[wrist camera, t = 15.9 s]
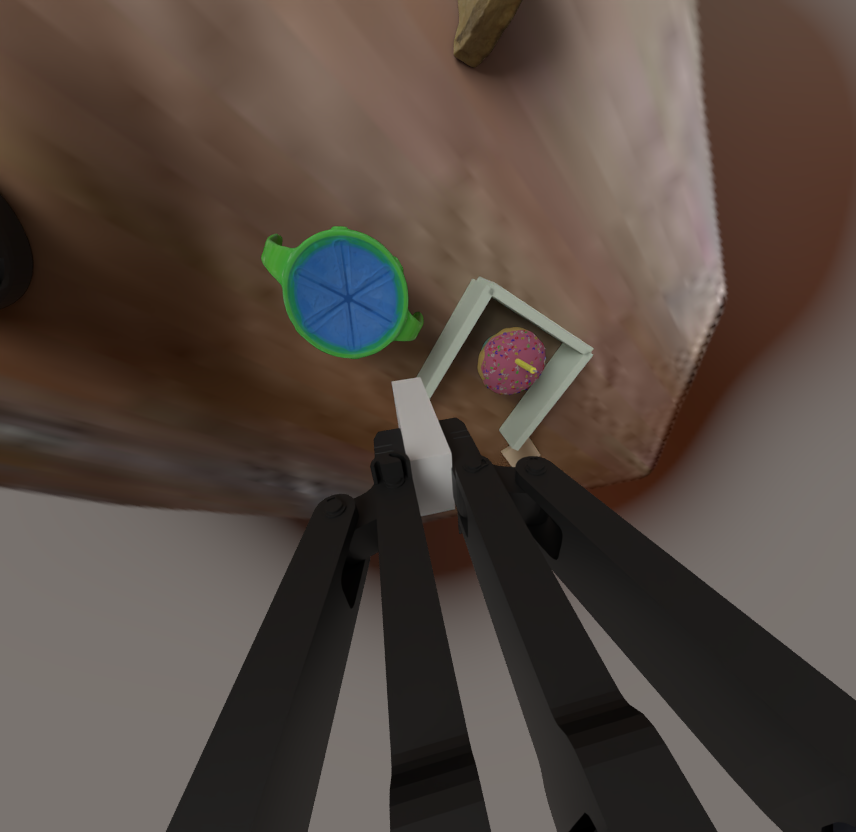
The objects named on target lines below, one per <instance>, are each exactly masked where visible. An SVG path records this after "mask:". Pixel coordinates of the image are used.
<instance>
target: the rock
mask: <svg viewBox="0 0 856 832" xmlns="http://www.w3.org/2000/svg"><path fill="white" fill-rule="evenodd" d="M521 2H522V0H458V9H459V25H458V28H457V32H456V36H455V39H454V56H455V57H456V58H458V59H460V60H461V61H463V62H464V63H466V64H467V65H469V66H471V67H477V66H478V65H479V64H481V63H482V61H483V59H484V58H486V57H488V55H489V54H490V53H491V52H492V50H493V48H494V46H495V45H496V43H497V41H498V40H499V38H500V37H501V35H502V33H503V31H504V30H505V29H506V28H507V27H508V25H509V24H510V22H511V20H512V19H513V17H514V15H515V13H516V11H517V9H518V7H519V5H520V3H521Z"/></svg>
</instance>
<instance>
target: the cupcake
mask: <svg viewBox="0 0 856 832" xmlns="http://www.w3.org/2000/svg"><path fill="white" fill-rule="evenodd" d="M545 349H546V348H545V347H544V344H543V343H542V342H541V341H540V340H539V339H538V338H537V336H536V335H535V334H534V333H532V332H530V331H528V330H526V329H524V328H520V327H512V328H505V329H502V330H501V331H500V332H498V333H497V334H495V335H493V336H491V337H490V338H488V339H487V340H486V341H485V343H484V344H483V347H482V350H481V352H480V354H479V359H478V366H477V369H478V373H479V375H480V377H481V379H482V381H483V383H484V384H485V385H486V386H487V388H489V389H491V390H492V391H494V392H496V393H499V394H509V395H510V394H516V393H520V391H523V390H527V389H528V387H529V386H531V385H532V384H534V383H535V382H536V381H537V379H538V378H539V376H540V375H541V373H542V372H543V370H544V365H545V364H546V363H545V360H546V359H545V358H546V357H545Z"/></svg>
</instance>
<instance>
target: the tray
mask: <svg viewBox="0 0 856 832" xmlns="http://www.w3.org/2000/svg"><path fill="white" fill-rule="evenodd" d="M491 297H492V298H493V299H495V300H496V301H498V302H500V303H501V304H503V305H504V306H506V307H507V308H509V309H510V310H512V311H514V312H515V313H517V314H518V315H520V316H521V317H523V318H525V319H526V320H528V321H529V322H531V323H532V324H534V325H535V326H537V327H539V328H540V329H542V330H543V331H545V332H546V333H548V334H550V335H551V336H553V337H554V338H556V339H557V340H559V341H561V342H562V344H561V346H560V347H559V349H558V350H557V351H556V353H555V354H554V355H553V357H552V358H551V359H550V361H549V362H548V363H547V365H546V366H545V368H544V370H543V372H542V373H541V375H540V376H539V378H538V379H537V381H536V382H535V383H534V384H532V385H531V387H530V388H529V389H528V391H527V392H526V393H525V395H524V396H523V398H522V399H521V400H520V402H519V403H518V404H517V406H516V407H515V408H514V410H513V411H512V413H511V414H510V415H509V417H508V418H507V419H506V421H505V422H504V423H503V425H502V426H501V428H500V429H499V431H500V432H501V433H502V435H503V436H504V438H505V439H506V441H507V442H508V444H509V445H510V446H511V448H512V449H515V450H517V451H518V450H519V449H520V448H521V446H522V445H523V444H524V443H525V441H526V440H527V439H528V437H529V436H530V435H531V434H532V432H533V431H534V430H535V429H536V427H537V426H538V425H539V423H540V422H541V421H542V420H543V418H544V417H545V416H546V415H547V413H548V412H549V411H550V409H551V408H552V407H553V406H554V404H555V403H556V402H557V401H558V399H559V398H560V397H561V395H562V394H563V393H564V392H565V390H566V389H567V388H568V387H569V385H570V384H571V383H572V381H573V380H574V379H575V378H576V376H577V375H578V374H579V373H580V371H581V370H582V369H583V367H584V366H585V365H586V364H587V362H588V361H589V360H590V359H591V357H592V356H593V354H592V353H591V351H592V350H593V349H594V348H592V347H591V346H589V345H588V344H586V343H585V342H583V341H582V340H580V339H579V338H577V337H576V336H574V335H573V334H571V333H570V332H568V331H567V330H565V329H564V328H562V327H561V326H559V325H558V324H556V323H555V322H553V321H552V320H550V319H548V318H547V317H545V316H544V315H542V314H541V313H539V312H538V311H536V310H535V309H533V308H532V307H530V306H529V305H527V304H526V303H524V302H523V301H521V300H520V299H518V298H517V297H515V296H514V295H512V294H511V293H509V292H508V291H506V290H505V289H503V288H502V287H500V286H499V285H497V284H496V283H494V282H492V281H489V280H487V279H484V278H482V277H479V278H478V279H477V280H474V279H472V280H471V282H470V284H469V286H468V287H467V289H466V291H465V293H464V294H463V296H462V298H461V300H460V301H459V303H458V305H457V307H456V308H455V310H454V312H453V314H452V315H451V317H450V319H449V321H448V322H447V324H446V326H445V328H444V329H443V331H442V333H441V335H440V337H439V338H438V340H437V342H436V344H435V345H434V347H433V349H432V351H431V352H430V354H429V356H428V358H427V359H426V361H425V363H424V365H423V366H422V368H421V370H420V372H419V373H418V375H417V377H416V378H418V377H420V378H421V380H422V382H423V385H424V387H425V390H426V392H427V395H428V397H429V399H430V398H431V396H432V394H433V393H434V391H435V389H436V388H437V386H438V385H439V383H440V381H441V380H442V378H443V376H444V375H445V373H446V371H447V370H448V368H449V366H450V365H451V363H452V361H453V360H454V358H455V356H456V355H457V353H458V351H459V350H460V348H461V346H462V345H463V343H464V342H465V340H466V338H467V337H468V335H469V333H470V332H471V330H472V328H473V327H474V325H475V323H476V322H477V320H478V318H479V317H480V315H481V313H482V312H483V310H484V308H485V307H486V305H487V304H488V302H489V300H490V299H491Z"/></svg>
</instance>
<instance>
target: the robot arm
mask: <svg viewBox="0 0 856 832" xmlns="http://www.w3.org/2000/svg"><path fill="white" fill-rule="evenodd" d="M32 269H33V262H32V254H31V249H30V246H29V242H28V240H27V237H26V234H25V232H24V230H23V228H22V226H21V224H20V222H19V220H18V219H17V217H16V215H15V214H14V212H13V211H12V209H11V208H10V206H9V205H8V203H7V202H6V201H5V200H4V198H3V197H2V196H1V194H0V309H1V308H4V307H6V306H8V305H10V304H12V303H14V302H15V301H16V300H18V299H19V298H20V297H21V296H22V295H23V294H24V292H25V291H26V289H27V288H28V286H29V283H30V280H31V277H32ZM392 388H393V394H394V400H395V406H396V412H397V418H398V425H399V428H398V429H392V430H386V431H380V432H378V433H377V435H376V436H375V438H374V451H375V458H374V460H373V461H372V462H371V466H370V468H371V472H372V476H373V480H374V485H373V487H372V488H371V489H370V490H369V491H367V492H366V493H364V494H362V495H361V496H358V497H356V498H354V499H353V498H352V497H351V496H349V495H346V494H336V495H332V496H330V497H327V498H325V499H324V500H323V501H321V502H320V503H319V504H318V506H317V507H316V508H315V510H314V512H313V514H312V517H311V519H310V521H309V523H308V525H307V527H306V530H305V532H304V534H303V536H302V538H301V540H300V543H299V545H298V547H297V549H296V551H295V553H294V556H293V558H292V560H291V562H290V564H289V566H288V568H287V571H286V573H285V575H284V577H283V579H282V582H281V584H280V586H279V588H278V590H277V592H276V594H275V597H274V599H273V601H272V603H271V605H270V607H269V610H268V612H267V614H266V616H265V619H264V621H263V623H262V625H261V627H260V629H259V631H258V633H257V636H256V638H255V640H254V642H253V644H252V646H251V649H250V651H249V653H248V655H247V657H246V659H245V662H244V664H243V666H242V668H241V670H240V672H239V674H238V677H237V679H236V681H235V683H234V685H233V688H232V690H231V692H230V694H229V696H228V698H227V700H226V703H225V705H224V707H223V709H222V711H221V714H220V716H219V718H218V720H217V722H216V724H215V727H214V729H213V731H212V733H211V735H210V737H209V739H208V742H207V744H206V746H205V748H204V750H203V752H202V755H201V757H200V759H199V761H198V763H197V765H196V768H195V770H194V772H193V774H192V776H191V778H190V781H189V783H188V785H187V787H186V789H185V792H184V794H183V796H182V798H181V800H180V802H179V804H178V806H177V809H176V811H175V813H174V815H173V817H172V820H171V822H170V824H169V826H168V828H167V830H166V832H308V827H309V823H310V818H311V814H312V810H313V806H314V801H315V797H316V792H317V788H318V784H319V779H320V775H321V770H322V766H323V761H324V758H325V753H326V749H327V744H328V740H329V736H330V732H331V727H332V723H333V719H334V714H335V710H336V705H337V701H338V697H339V693H340V688H341V683H342V679H343V675H344V671H345V666H346V662H347V658H348V653H349V649H350V645H351V640H352V636H353V632H354V627H355V623H356V618H357V614H358V610H359V605H360V601H361V597H362V592H363V588H364V584H365V580H366V575H367V571H368V566H369V562H370V556H372V555H374V554H376V553H377V552H379V563H380V581H381V597H382V612H383V613H382V614H383V628H384V629H383V630H384V645H385V662H386V679H387V695H388V711H389V712H388V713H389V729H390V744H391V764H392V776H391V784H390V832H491V829H490V825H489V820H488V816H487V812H486V807H485V802H484V798H483V793H482V789H481V784H480V781H479V776H478V772H477V768H476V764H475V760H474V757H473V754H472V750H471V746H470V742H469V737H468V732H467V728H466V723H465V718H464V714H463V709H462V705H461V700H460V696H459V690H458V686H457V681H456V677H455V672H454V667H453V663H452V658H451V654H450V649H449V644H448V640H447V635H446V630H445V626H444V621H443V616H442V612H441V607H440V603H439V598H438V593H437V589H436V584H435V579H434V575H433V570H432V565H431V561H430V556H429V552H428V547H427V542H426V538H425V533H424V528H423V524H422V519H421V516H424V515H429V514H434V513H439V512H444V511H448V510H453V509H455V504H456V507H457V510H458V526H459V534H461V533H463V536H464V539H465V542H466V545H467V547H468V551H469V554H470V557H471V560H472V562H473V565H474V568H475V571H476V575H477V578H478V580H479V583H480V586H481V589H482V592H483V595H484V599H485V601H486V604H487V607H488V610H489V613H490V616H491V619H492V622H493V625H494V628H495V631H496V634H497V637H498V640H499V643H500V646H501V649H502V652H503V655H504V658H505V661H506V664H507V667H508V670H509V673H510V676H511V679H512V682H513V685H514V688H515V691H516V694H517V697H518V700H519V703H520V706H521V709H522V712H523V715H524V718H525V721H526V724H527V727H528V730H529V733H530V736H531V739H532V742H533V745H534V748H535V751H536V754H537V757H538V760H539V764H540V768H541V772H542V777H543V783H544V788H545V792H546V796H547V800H548V804H549V807H550V810H551V813H552V817H553V820H554V823H555V826H556V829H557V832H717V830H716V828H715V827H714V825H713V823H712V822H711V820H710V818H709V817H708V815H707V813H706V811H705V810H704V808H703V806H702V805H701V803H700V801H699V800H698V798H697V796H696V795H695V793H694V791H693V789H692V788H691V786H690V784H689V783H688V781H687V779H686V778H685V776H684V774H683V773H682V771H681V770H680V768H679V766H678V764H677V762H676V761H675V759H674V758H673V756H672V754H671V752H670V751H669V749H668V747H667V746H666V744H665V742H664V741H663V739H662V738H661V736H660V735H659V733H658V732H657V730H656V729H655V727H654V726H653V725H652V723H651V722H650V721H649V720H648V719H647V718H646V717H645V716H644V714H643V713H641V712H640V711H638V710H637V709H635V708H634V707H632V706H631V705H629V704H628V703H627V701H626V700H625V699H624V698H623V696H622V694H621V693H620V691H619V690H618V688H617V686H616V684H615V682H614V681H613V679H612V677H611V675H610V674H609V672H608V670H607V668H606V666H605V665H604V663H603V661H602V659H601V657H600V656H599V654H598V652H597V650H596V649H595V647H594V645H593V643H592V641H591V640H590V638H589V636H588V634H587V633H586V631H585V629H584V627H583V625H582V624H581V622H580V620H579V618H578V617H577V615H576V613H575V611H574V609H573V607H572V606H571V604H570V602H569V600H568V599H567V597H566V595H565V593H564V591H563V590H562V588H561V586H560V584H559V583H558V581H557V579H556V577H555V575H554V574H553V572H552V570H553V571H554V573H555V574H556V575H557V576H558V577H559V578H560V580H561V581H562V582H563V583H564V584H565V585H566V587H567V588H568V589H569V590H570V591H571V592H572V593H573V595H574V596H575V597H576V598H577V599H578V600H579V602H580V603H581V604H582V605H583V606H584V607H585V609H586V610H587V611H588V612H589V613H590V614H591V615H592V617H593V618H594V619H595V620H596V621H597V622H598V624H599V625H600V626H601V627H602V628H603V629H604V631H605V632H606V633H607V634H608V635H609V636H610V637H611V639H612V640H613V641H614V642H615V643H616V644H617V645H618V647H619V648H620V649H621V650H622V651H623V652H624V654H625V655H626V656H627V657H628V658H629V659H630V661H631V662H632V663H633V664H634V665H635V666H636V668H637V669H638V670H639V671H640V672H641V673H642V674H643V676H644V677H645V678H646V679H647V680H648V681H649V683H650V684H651V685H652V686H653V687H654V688H655V689H656V690H657V692H658V693H659V694H660V695H661V696H662V698H663V699H664V700H665V701H666V702H667V703H668V705H669V706H670V707H671V708H672V709H673V710H674V711H675V713H676V714H677V715H678V716H679V717H680V718H681V720H682V721H683V722H684V723H685V724H686V725H687V726H688V728H689V729H690V730H691V731H692V732H693V733H694V734H695V736H696V737H697V738H698V739H699V740H700V742H701V743H702V744H703V745H704V746H705V747H706V748H707V750H708V751H709V752H710V753H711V754H712V755H713V757H714V758H715V759H716V760H717V761H718V762H719V764H720V765H721V766H722V767H723V768H724V769H725V770H726V772H727V773H728V774H729V775H730V776H731V777H732V778H733V780H734V781H735V782H736V783H737V784H738V785H739V786H740V787H741V788H742V789H743V790H744V792H745V793H746V794H747V795H748V796H749V797H750V798H751V799H752V800H753V801H754V802H755V804H756V805H757V806H758V807H759V808H760V809H761V810H762V811H763V812H764V813H765V814H766V815H767V816H768V817H769V818H770V819H771V820H772V821H773V822H774V823H775V824H776V825H777V826H778V827H779V828H780V829H781V830H782V831H783V832H856V700H854V699H853V698H852V697H851V696H849V695H848V694H847V693H846V692H844V691H843V690H842V689H840V688H839V687H838V686H837V685H835V684H834V683H833V682H832V681H830V680H829V679H828V678H826V677H825V676H824V675H823V674H821V673H820V672H819V671H817V670H816V669H815V668H813V667H812V666H811V665H810V664H808V663H807V662H806V661H804V660H803V659H802V658H801V657H800V656H798V655H797V654H796V653H794V652H793V651H792V650H791V649H789V648H788V647H787V646H785V645H784V644H783V643H782V642H780V641H779V640H778V639H776V638H775V637H774V636H773V635H771V634H770V633H769V632H768V631H766V630H765V629H764V628H762V627H761V626H760V625H758V624H757V623H756V622H755V621H753V620H752V619H751V618H750V617H748V616H747V615H746V614H744V613H743V612H742V611H741V610H739V609H738V608H737V607H736V606H734V605H733V604H732V603H730V602H729V601H728V600H727V599H725V598H724V597H723V596H721V595H720V594H719V593H717V592H716V591H715V590H714V589H713V588H711V587H710V586H709V585H707V584H706V583H705V582H704V581H702V580H701V579H700V578H698V577H697V576H696V575H695V574H693V573H692V572H691V571H690V570H688V569H687V568H686V567H684V566H683V565H682V564H681V563H679V562H678V561H677V560H675V559H674V558H673V557H672V556H670V555H669V554H668V553H666V552H665V551H664V550H663V549H661V548H660V547H659V546H658V545H656V544H655V543H654V542H652V541H651V540H650V539H649V538H647V537H646V536H645V535H643V534H642V533H641V532H640V531H638V530H637V529H636V528H634V527H633V526H632V525H631V524H629V523H628V522H627V521H625V520H624V519H623V518H622V517H620V516H619V515H618V514H617V513H615V512H614V511H613V510H611V509H610V508H609V507H608V506H606V505H605V504H604V503H602V502H601V501H600V500H599V499H597V498H596V497H595V496H594V495H592V494H591V493H590V492H588V491H587V490H586V489H585V488H583V487H582V486H581V485H580V484H578V483H577V482H576V481H574V480H573V479H572V478H571V477H569V476H568V475H567V474H565V473H564V472H563V471H562V470H560V469H559V468H558V467H557V466H555V465H554V464H553V463H551V462H550V461H548V460H546V459H545V458H541V457H538V456H528V457H523V458H521V459H520V460H518V461H517V463H516V465H515V467H503V466H497V465H493V464H492V463H491V462H490V461H489V459H488V458H486V457H484V456H481V454H480V452H479V450H478V449H477V447H476V445H475V443H474V441H473V439H472V437H471V436H470V434H469V432H468V431H467V428H466V426H465V424H464V423H463V422H462V421H460V420H459V419H457V418H450V419H445V420H439V421H438V419H437V417H436V414H435V412H434V409H433V407H432V404H431V402H430V399H429V397H428V395H427V392H426V390H425V387H424V385H423V382H422V380H421V378H420V377H418V378H411V379H405V380H399V381H392ZM454 501H455V502H454ZM551 569H552V570H551Z"/></svg>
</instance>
